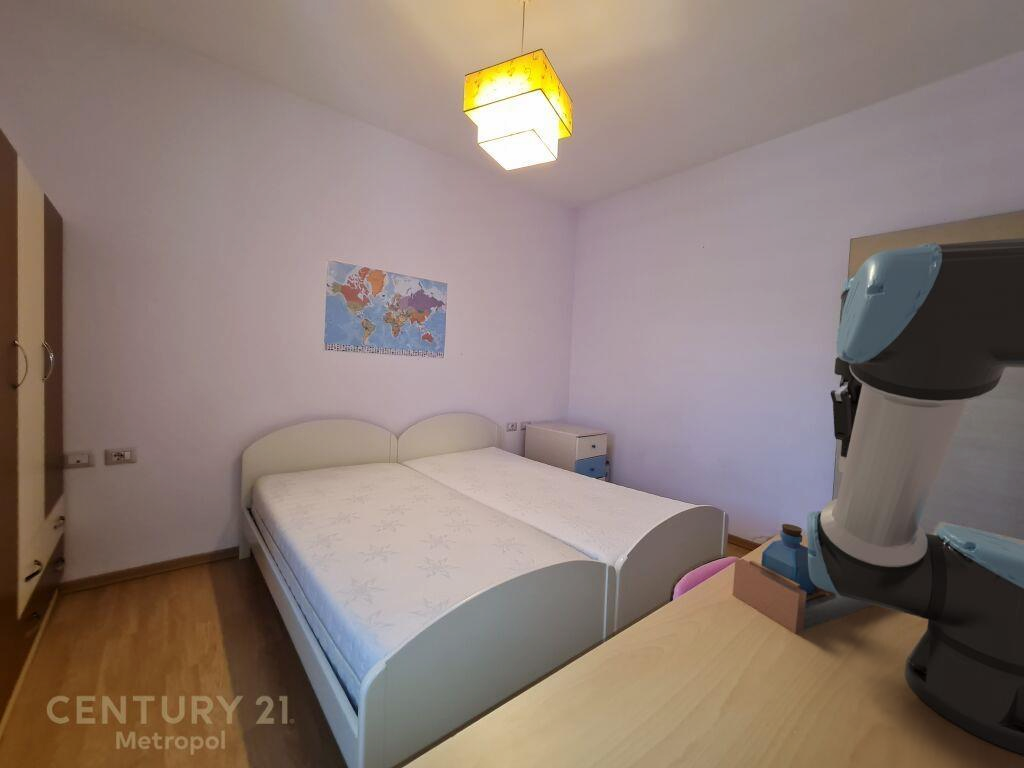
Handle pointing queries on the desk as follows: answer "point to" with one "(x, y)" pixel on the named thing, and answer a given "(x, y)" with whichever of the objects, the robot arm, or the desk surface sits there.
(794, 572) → the perfume bottle
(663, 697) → the desk surface
